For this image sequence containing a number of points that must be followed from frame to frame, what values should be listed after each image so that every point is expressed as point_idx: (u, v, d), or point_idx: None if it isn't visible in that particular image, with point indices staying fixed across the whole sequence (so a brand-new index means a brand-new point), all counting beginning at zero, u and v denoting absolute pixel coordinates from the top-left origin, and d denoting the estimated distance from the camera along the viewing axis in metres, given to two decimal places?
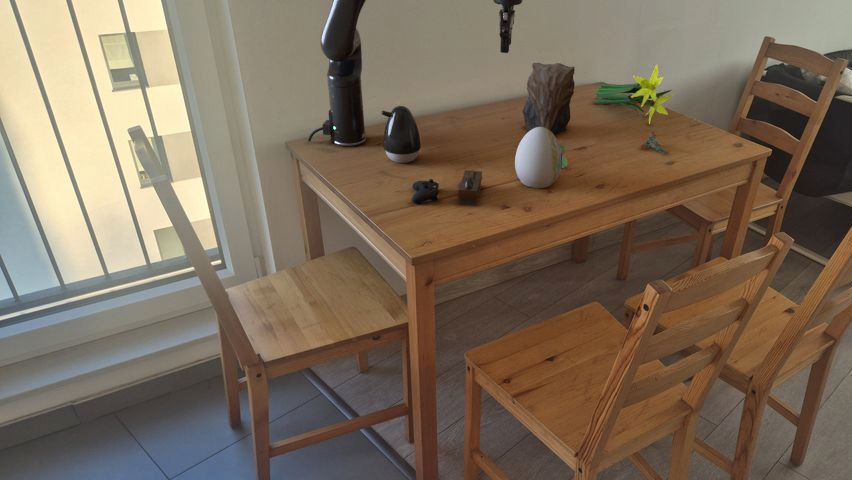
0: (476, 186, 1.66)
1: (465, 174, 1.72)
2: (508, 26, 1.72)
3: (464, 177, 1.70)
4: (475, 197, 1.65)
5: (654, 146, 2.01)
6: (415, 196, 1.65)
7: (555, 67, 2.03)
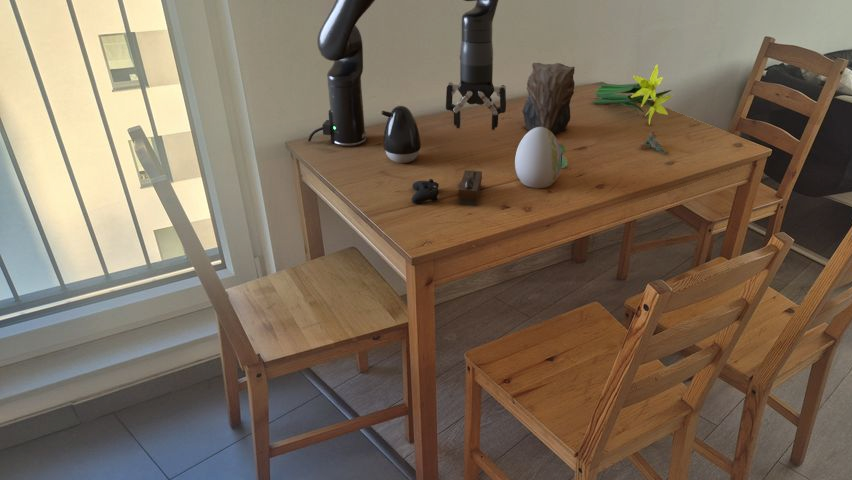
0: (476, 186, 1.66)
1: (465, 174, 1.72)
2: (446, 98, 1.60)
3: (464, 177, 1.70)
4: (475, 197, 1.65)
5: (654, 146, 2.01)
6: (415, 196, 1.65)
7: (555, 67, 2.03)
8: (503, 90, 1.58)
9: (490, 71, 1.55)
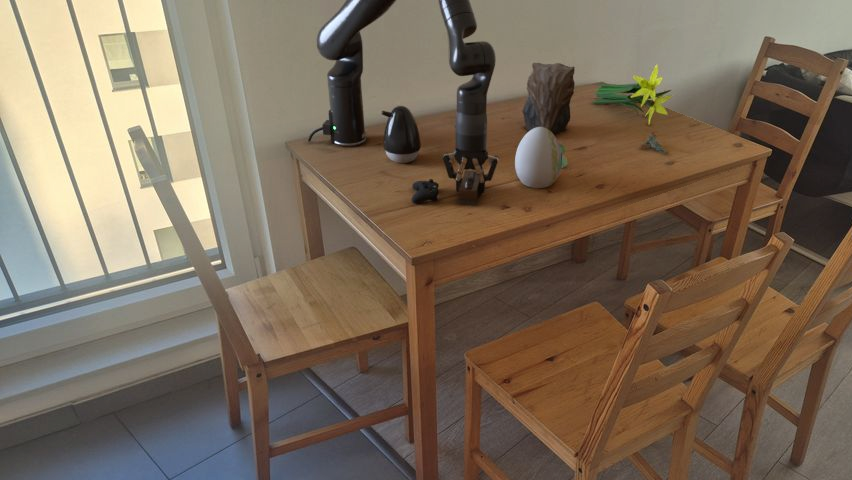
0: (476, 186, 1.66)
1: (465, 174, 1.72)
2: None
3: (464, 177, 1.70)
4: (475, 197, 1.65)
5: (654, 146, 2.01)
6: (415, 196, 1.65)
7: (555, 67, 2.03)
8: (496, 162, 1.65)
9: (484, 140, 1.61)
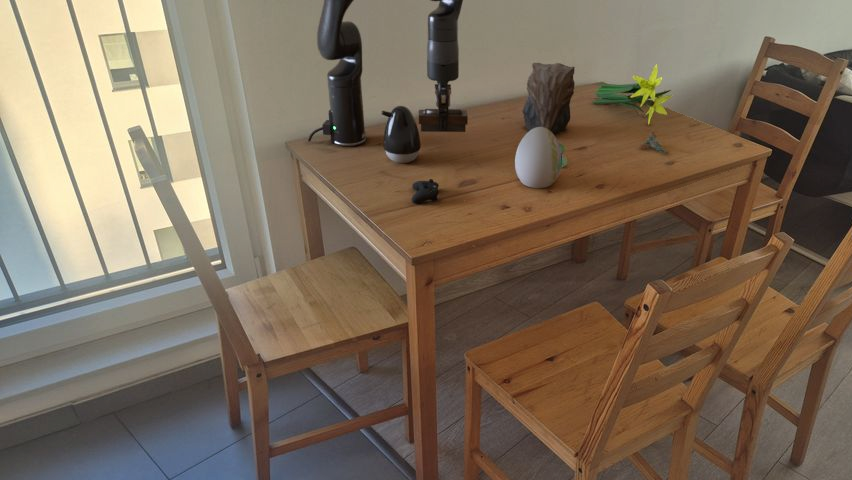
0: None
1: (429, 114, 1.66)
2: (447, 108, 1.61)
3: (437, 115, 1.66)
4: None
5: (654, 146, 2.01)
6: (415, 196, 1.65)
7: (555, 67, 2.03)
8: None
9: None
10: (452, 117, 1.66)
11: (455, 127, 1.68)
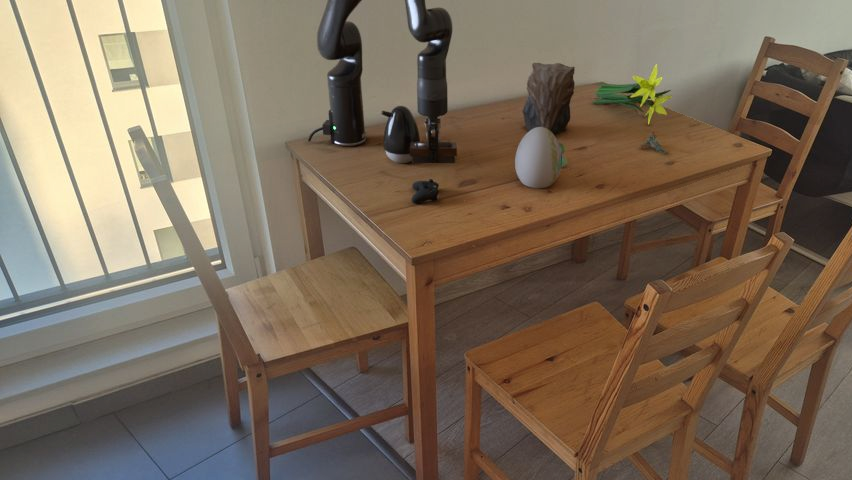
0: None
1: (420, 147, 1.74)
2: (436, 142, 1.69)
3: (427, 147, 1.74)
4: None
5: (654, 146, 2.01)
6: (415, 196, 1.65)
7: (555, 67, 2.03)
8: None
9: None
10: (442, 149, 1.74)
11: (445, 159, 1.76)
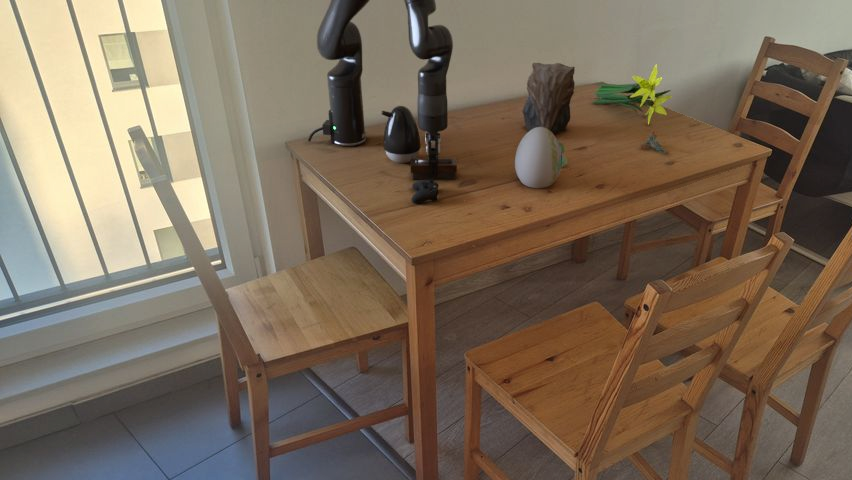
0: None
1: (421, 164, 1.76)
2: (436, 154, 1.70)
3: (428, 164, 1.76)
4: None
5: (654, 146, 2.01)
6: (415, 196, 1.65)
7: (555, 67, 2.03)
8: None
9: None
10: (442, 166, 1.76)
11: (445, 175, 1.78)
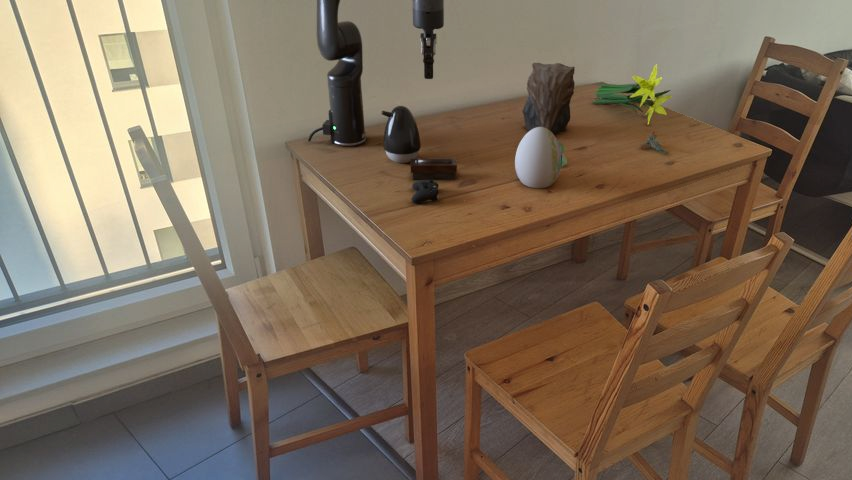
0: None
1: (421, 164, 1.76)
2: (432, 52, 1.63)
3: (428, 164, 1.76)
4: None
5: (654, 146, 2.01)
6: (415, 196, 1.65)
7: (555, 67, 2.03)
8: None
9: None
10: (442, 166, 1.76)
11: (445, 175, 1.78)
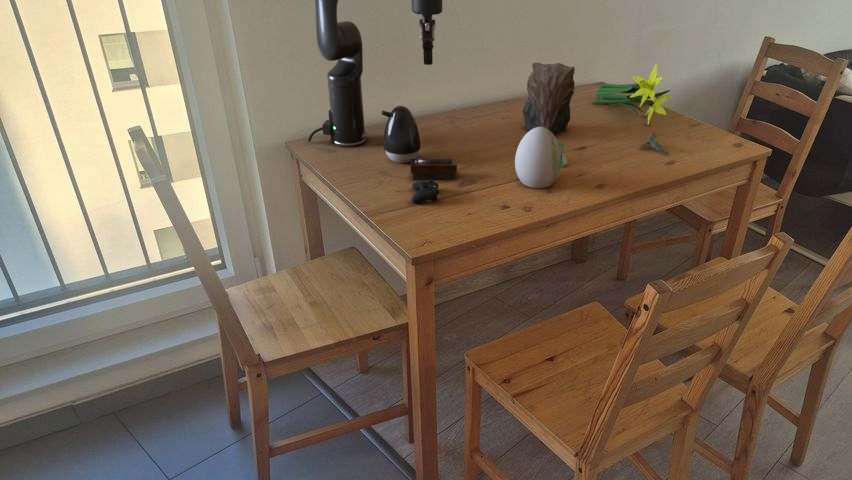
0: None
1: (421, 164, 1.76)
2: (431, 37, 1.63)
3: (428, 164, 1.76)
4: None
5: (654, 146, 2.01)
6: (415, 196, 1.65)
7: (555, 67, 2.03)
8: None
9: None
10: (442, 166, 1.76)
11: (445, 175, 1.78)
